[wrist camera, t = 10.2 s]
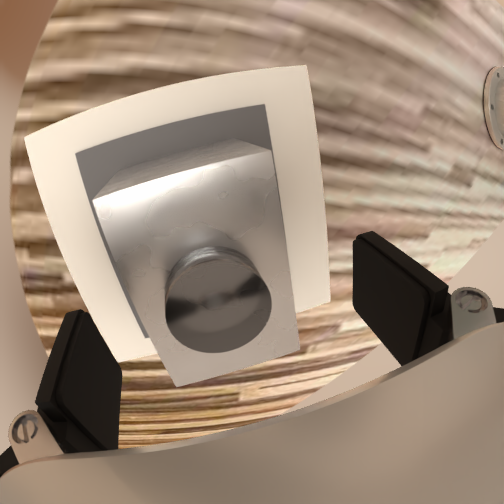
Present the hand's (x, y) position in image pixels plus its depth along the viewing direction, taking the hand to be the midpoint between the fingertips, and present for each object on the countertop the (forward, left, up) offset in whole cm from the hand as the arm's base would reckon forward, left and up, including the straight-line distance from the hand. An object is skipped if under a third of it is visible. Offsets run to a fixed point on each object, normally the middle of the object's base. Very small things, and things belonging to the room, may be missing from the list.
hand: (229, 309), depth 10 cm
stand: (0, 0, -16) cm, 16 cm away
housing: (0, 0, -8) cm, 8 cm away
